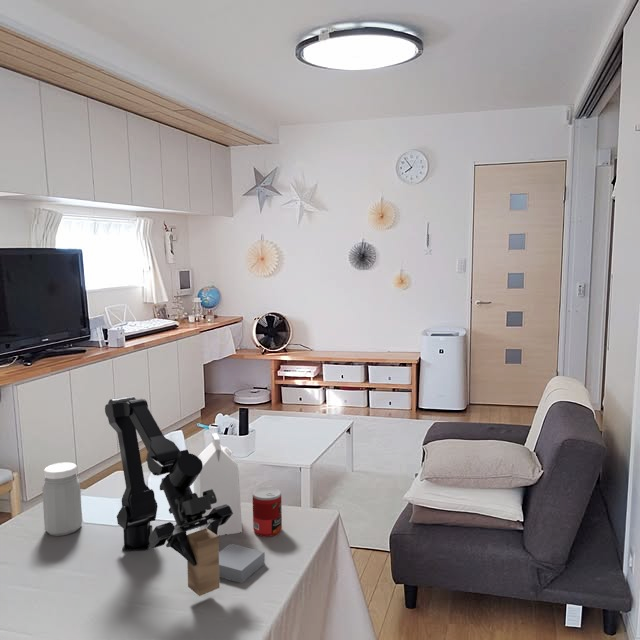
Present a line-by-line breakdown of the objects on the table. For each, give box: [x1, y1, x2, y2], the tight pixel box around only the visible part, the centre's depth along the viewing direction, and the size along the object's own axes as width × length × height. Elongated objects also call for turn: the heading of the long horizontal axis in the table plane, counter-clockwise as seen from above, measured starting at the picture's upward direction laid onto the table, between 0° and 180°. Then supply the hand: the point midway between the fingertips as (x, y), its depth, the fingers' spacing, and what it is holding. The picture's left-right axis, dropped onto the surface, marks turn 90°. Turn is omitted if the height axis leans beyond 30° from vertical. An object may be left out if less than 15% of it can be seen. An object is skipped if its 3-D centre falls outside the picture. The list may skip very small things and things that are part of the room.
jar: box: [41, 461, 83, 537], centre depth 169 cm, size 10×10×18 cm
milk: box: [195, 432, 243, 537], centre depth 170 cm, size 12×12×26 cm
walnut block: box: [186, 528, 220, 597], centre depth 134 cm, size 5×5×12 cm
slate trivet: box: [219, 543, 266, 584], centre depth 148 cm, size 10×10×3 cm
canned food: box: [252, 487, 283, 538], centre depth 168 cm, size 8×8×11 cm
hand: (206, 561), depth 133 cm, fingers closed on walnut block, 5 cm apart
